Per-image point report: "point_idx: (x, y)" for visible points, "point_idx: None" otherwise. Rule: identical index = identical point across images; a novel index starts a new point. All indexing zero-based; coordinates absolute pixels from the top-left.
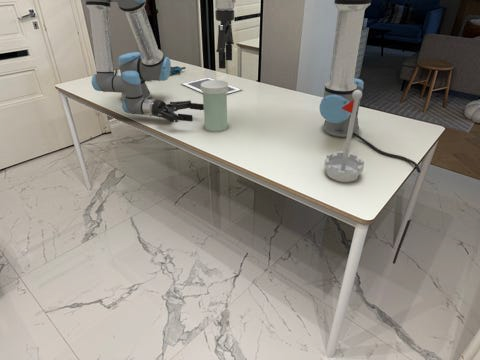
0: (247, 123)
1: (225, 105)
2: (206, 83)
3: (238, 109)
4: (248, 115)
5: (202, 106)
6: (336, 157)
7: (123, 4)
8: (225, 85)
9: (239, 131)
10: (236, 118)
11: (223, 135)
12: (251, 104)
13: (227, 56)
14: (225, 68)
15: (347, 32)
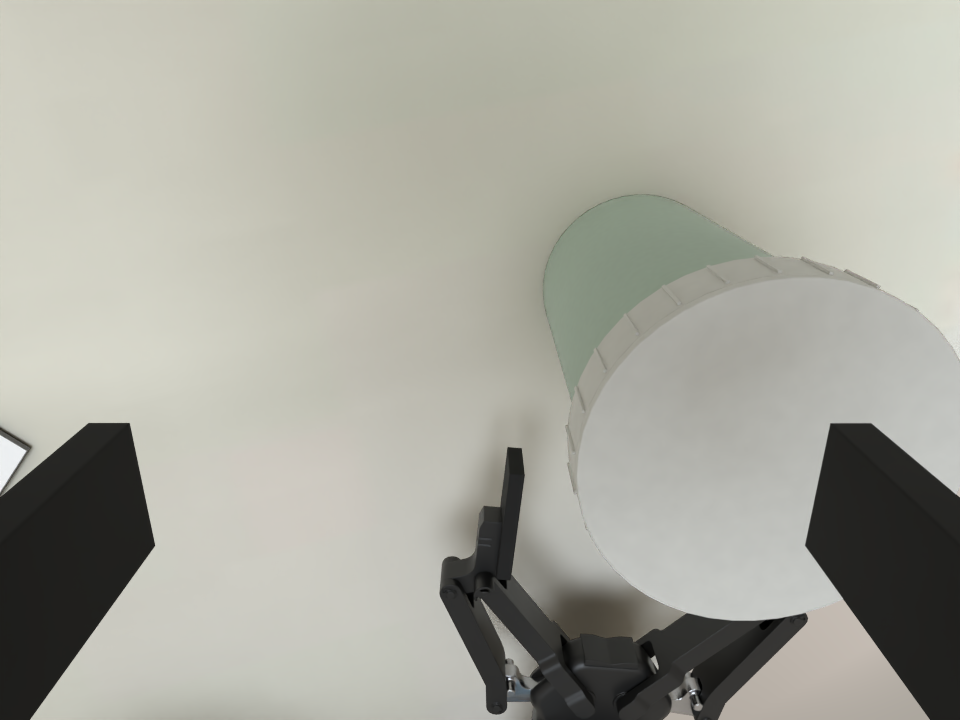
0: (528, 21)
1: (738, 240)
2: (748, 564)
3: (213, 174)
4: (334, 44)
5: (522, 470)
6: None
7: None
8: (846, 301)
9: (711, 68)
10: (431, 151)
11: (794, 192)
12: (35, 62)
13: (106, 568)
14: (855, 423)
15: None
